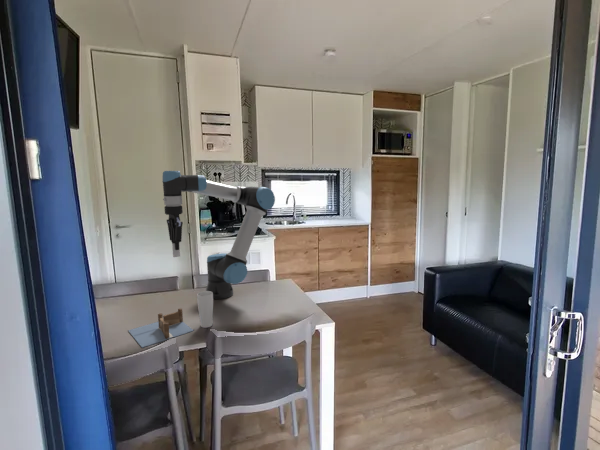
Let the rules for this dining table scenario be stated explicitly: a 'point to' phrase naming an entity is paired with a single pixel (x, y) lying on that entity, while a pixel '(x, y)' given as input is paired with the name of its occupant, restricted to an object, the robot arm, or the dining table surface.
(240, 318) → the dining table surface
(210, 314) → the drinking glass
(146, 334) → the mat
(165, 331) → the fence panel
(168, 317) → the fence fixed
